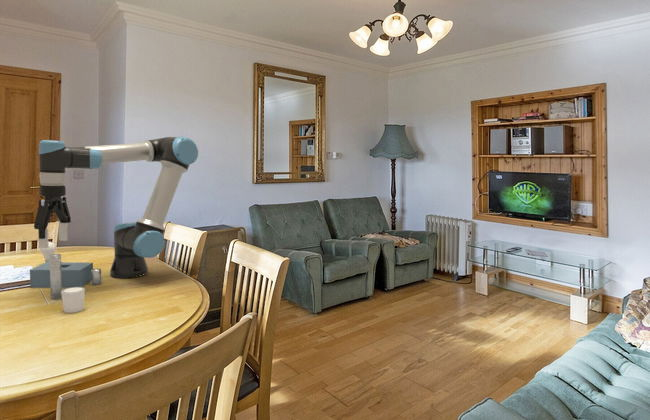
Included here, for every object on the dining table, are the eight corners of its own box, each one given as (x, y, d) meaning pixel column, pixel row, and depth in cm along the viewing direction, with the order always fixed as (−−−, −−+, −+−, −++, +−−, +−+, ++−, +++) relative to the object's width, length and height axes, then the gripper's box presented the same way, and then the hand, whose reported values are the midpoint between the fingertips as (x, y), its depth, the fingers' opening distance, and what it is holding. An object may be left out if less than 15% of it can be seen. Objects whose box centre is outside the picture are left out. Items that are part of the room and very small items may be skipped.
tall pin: (64, 296, 150) (62, 253, 148) (59, 299, 146) (58, 256, 144) (53, 296, 149) (52, 253, 147) (48, 299, 146) (47, 255, 144)
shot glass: (79, 304, 142) (79, 285, 142) (89, 309, 138) (88, 289, 138) (57, 310, 137) (57, 289, 136) (67, 315, 133) (66, 294, 132)
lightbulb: (39, 267, 185) (38, 243, 184) (41, 263, 191) (40, 240, 189) (56, 266, 188) (55, 242, 187) (57, 262, 194) (56, 240, 192)
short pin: (102, 282, 167) (102, 268, 167) (99, 285, 164) (99, 270, 163) (93, 282, 167) (93, 268, 166) (90, 285, 164) (89, 270, 163)
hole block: (93, 278, 172) (92, 262, 171) (80, 287, 160) (79, 270, 159) (46, 278, 169) (46, 262, 168) (30, 287, 157) (29, 269, 157)
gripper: (59, 182, 155) (60, 237, 157) (19, 186, 130) (21, 251, 132) (80, 183, 156) (81, 237, 158) (45, 187, 131) (46, 251, 134)
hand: (54, 244), depth 145 cm, fingers open, 13 cm apart
